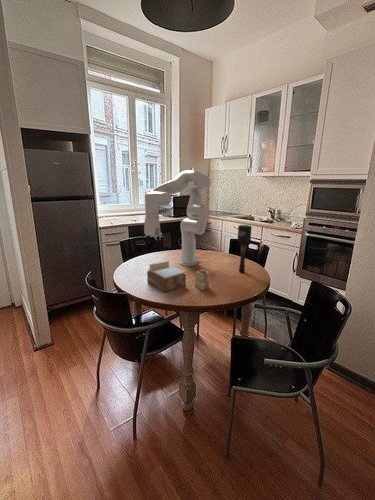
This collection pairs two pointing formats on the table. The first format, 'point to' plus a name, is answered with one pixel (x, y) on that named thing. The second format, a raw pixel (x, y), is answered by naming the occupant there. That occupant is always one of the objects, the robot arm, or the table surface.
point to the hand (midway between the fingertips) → (152, 245)
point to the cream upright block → (202, 279)
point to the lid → (164, 270)
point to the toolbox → (166, 282)
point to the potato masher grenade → (243, 243)
